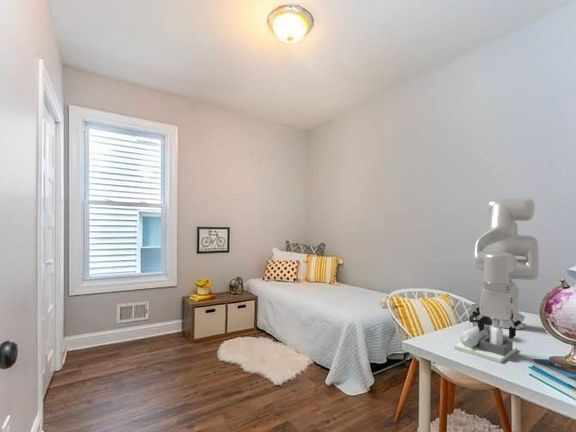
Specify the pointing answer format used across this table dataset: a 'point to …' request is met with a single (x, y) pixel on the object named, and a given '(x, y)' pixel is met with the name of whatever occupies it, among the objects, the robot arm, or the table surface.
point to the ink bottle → (473, 319)
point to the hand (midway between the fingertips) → (496, 333)
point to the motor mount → (484, 344)
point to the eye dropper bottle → (495, 333)
